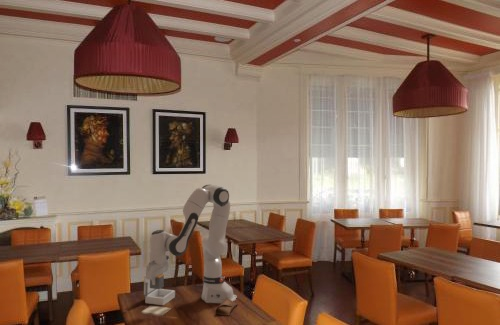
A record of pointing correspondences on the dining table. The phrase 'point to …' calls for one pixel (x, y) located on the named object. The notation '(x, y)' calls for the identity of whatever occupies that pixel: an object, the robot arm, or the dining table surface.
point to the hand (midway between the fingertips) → (157, 282)
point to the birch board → (156, 310)
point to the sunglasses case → (226, 307)
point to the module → (158, 282)
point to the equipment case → (157, 294)
